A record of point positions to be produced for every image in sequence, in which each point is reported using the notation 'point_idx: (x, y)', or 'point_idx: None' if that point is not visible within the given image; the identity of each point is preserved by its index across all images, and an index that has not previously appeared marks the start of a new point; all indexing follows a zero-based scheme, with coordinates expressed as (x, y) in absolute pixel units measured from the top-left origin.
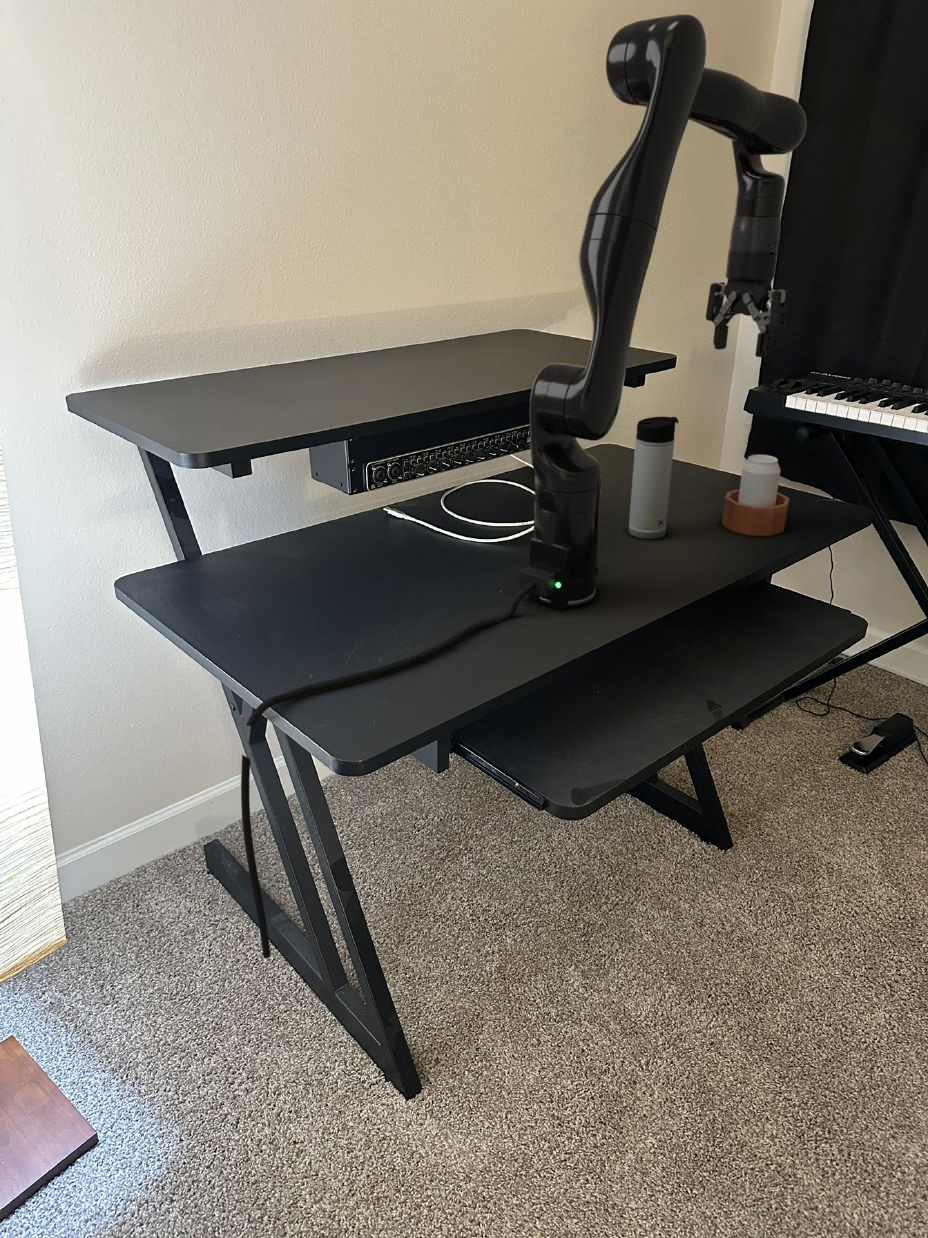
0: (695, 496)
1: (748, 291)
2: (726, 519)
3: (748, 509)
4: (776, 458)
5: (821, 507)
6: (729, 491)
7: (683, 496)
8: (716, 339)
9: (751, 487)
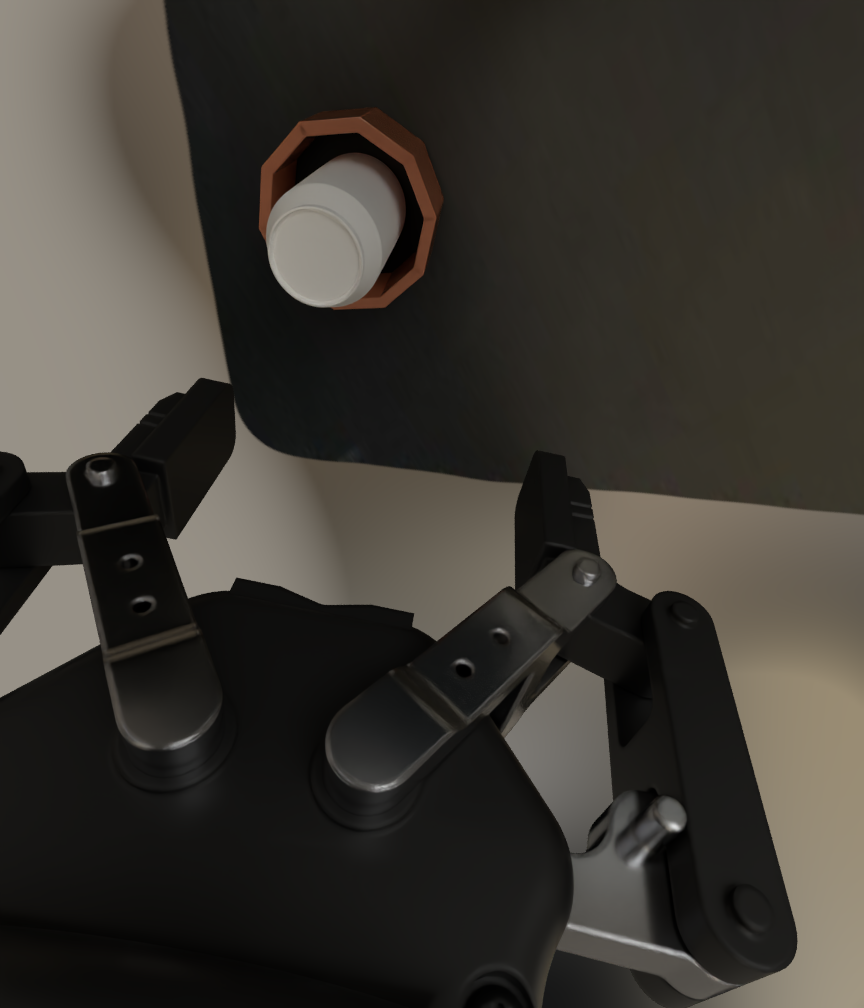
0: (586, 310)
1: (171, 798)
2: (402, 132)
3: (316, 119)
4: (289, 291)
5: (325, 419)
6: (434, 223)
7: (614, 289)
8: (558, 485)
9: (325, 172)
